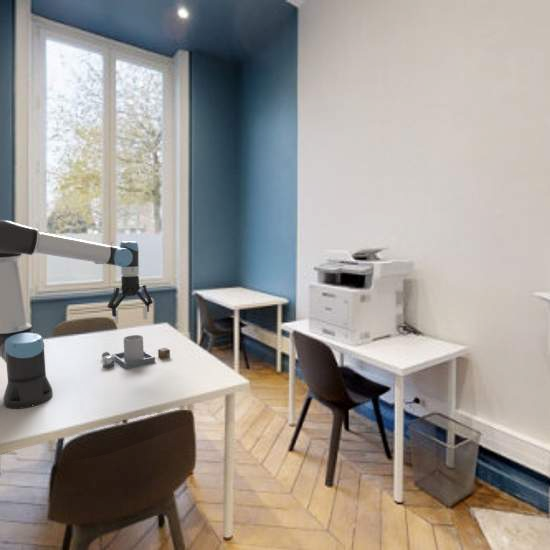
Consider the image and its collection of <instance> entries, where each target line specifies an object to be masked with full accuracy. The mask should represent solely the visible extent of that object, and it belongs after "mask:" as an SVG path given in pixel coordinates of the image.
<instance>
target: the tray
mask: <svg viewBox="0 0 550 550" xmlns="http://www.w3.org/2000/svg"><path fill="white" fill-rule="evenodd" d="M143 351H144V359H141V360H137V361H133V362H129V363H126V362H125V360H124V351H122V352H117V353H112V354H111V355H112V356H114V361H115V362H116V363H117V364H118V365H120V366H121V367H122V368H124V369H125V370H128V369H132V368H135V367H140V366H144V365H148V364H153V363H156V357H155V356H154V355H152V354H150V353H149V352H147V351H146V350H143Z"/></svg>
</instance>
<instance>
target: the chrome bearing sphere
mask: <svg viewBox="0 0 550 550" xmlns="http://www.w3.org/2000/svg"><path fill="white" fill-rule="evenodd" d="M101 360H102V367H103V368H105V369H106V368H107V369H108V368H113V367H115V361H114V356H112V354H110V355H108V356H104V357H102V356H101Z"/></svg>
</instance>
